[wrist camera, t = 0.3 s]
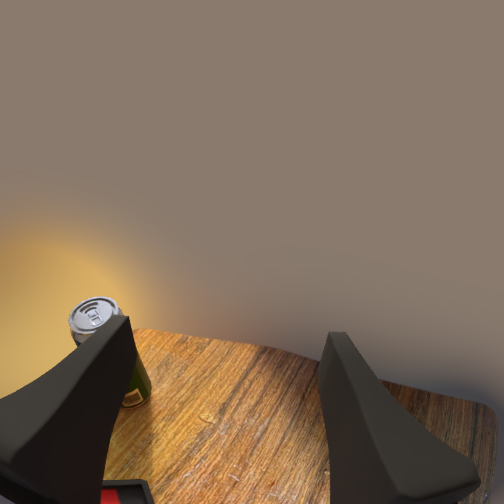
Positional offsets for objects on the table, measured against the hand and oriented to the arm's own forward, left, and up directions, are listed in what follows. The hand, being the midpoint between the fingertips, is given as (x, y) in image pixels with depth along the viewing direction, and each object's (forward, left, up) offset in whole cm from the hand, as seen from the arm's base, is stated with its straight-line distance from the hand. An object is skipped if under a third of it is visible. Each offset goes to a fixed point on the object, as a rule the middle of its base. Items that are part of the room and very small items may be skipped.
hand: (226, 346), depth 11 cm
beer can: (+11, +13, -21) cm, 27 cm away
